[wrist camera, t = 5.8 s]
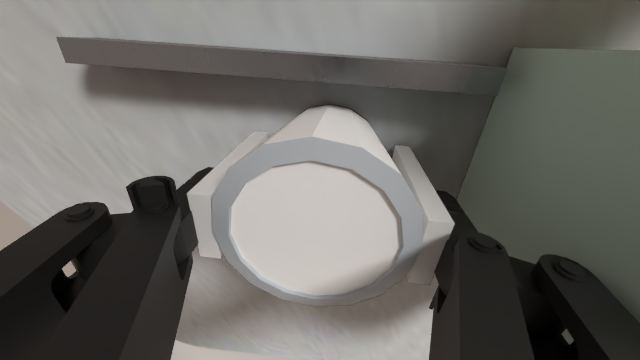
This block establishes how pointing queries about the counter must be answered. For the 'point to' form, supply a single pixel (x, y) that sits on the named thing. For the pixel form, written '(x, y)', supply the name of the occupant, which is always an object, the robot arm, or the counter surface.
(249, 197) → the white tapered cup
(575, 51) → the end cabinet
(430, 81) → the guide rails
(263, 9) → the counter surface
